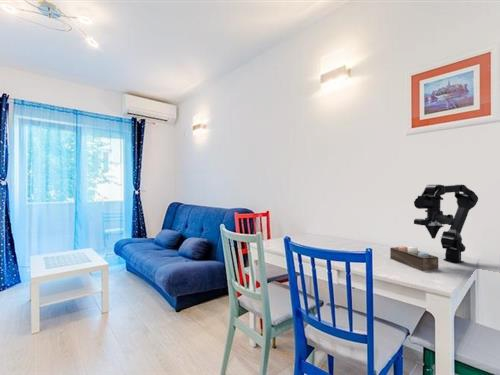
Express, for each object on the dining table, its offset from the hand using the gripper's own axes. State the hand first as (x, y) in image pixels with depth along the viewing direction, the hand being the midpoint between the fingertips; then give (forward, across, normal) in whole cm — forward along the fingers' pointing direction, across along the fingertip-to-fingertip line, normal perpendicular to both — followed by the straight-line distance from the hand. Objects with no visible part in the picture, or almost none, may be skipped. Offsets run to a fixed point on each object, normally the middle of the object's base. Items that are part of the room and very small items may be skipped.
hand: (433, 238), depth 137 cm
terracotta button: (+11, -11, +8) cm, 18 cm away
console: (+13, -11, +1) cm, 17 cm away
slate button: (+11, -11, -6) cm, 17 cm away
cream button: (+10, -11, +1) cm, 15 cm away
